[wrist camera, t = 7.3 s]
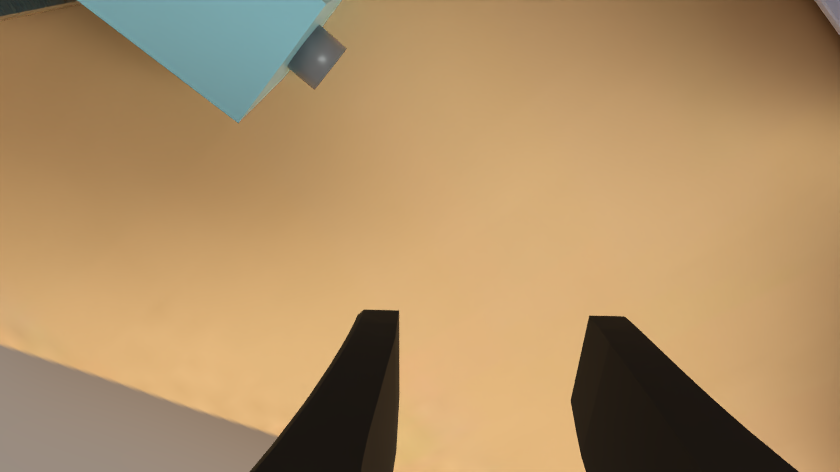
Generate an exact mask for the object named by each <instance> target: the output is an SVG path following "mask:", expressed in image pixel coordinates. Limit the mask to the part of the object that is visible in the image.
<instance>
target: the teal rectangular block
mask: <svg viewBox="0 0 840 472" xmlns="http://www.w3.org/2000/svg"><path fill="white" fill-rule="evenodd" d="M77 1H79V2H80V3H81V4H82V5H84V6H85V7H86V8H88V9H89V10H90V11H92V12H93V13H94V14H96V15H97V16H98V17H100V18H101V19H102V20H103V21H105V22H106V23H107V24H109V25H110V26H111V27H113V28H114V29H115V30H117V31H118V32H119V33H121V34H122V35H123V36H124V37H126V38H127V39H128V40H130V41H131V42H132V43H134V44H135V45H136V46H138V47H139V48H140V49H142V50H143V51H144V52H145V53H147V54H148V55H149V56H151V57H152V58H153V59H155V60H156V61H157V62H159V63H160V64H161V65H163V66H164V67H165V68H166V69H168V70H169V71H170V72H172V73H173V74H174V75H176V76H177V77H178V78H180V79H181V80H182V81H184V82H185V83H186V84H187V85H189V86H190V87H191V88H193V89H194V90H195V91H197V92H198V93H199V94H201V95H202V96H203V97H205V98H206V99H207V100H208V101H210V102H211V103H212V104H214V105H215V106H216V107H218V108H219V109H220V110H222V111H223V112H224V113H226V114H227V115H228V116H229V117H231V118H232V119H233V120H235V121H236V122H237V123H239V122H240V121H241V120H242V119H243V118H244V117H245V116H246V115H247V114H248V113H249V112H250V111H251V110H252V109H253V108H254V107H255V106H256V105H257V104H258V103H259V102H260V101H261V100H262V99H263V98H264V97H265V96H266V95H267V94H268V93H269V92H270V91H271V90H272V89H273V88H274V87H275V86H276V85H277V84H278V83H279V82H280V81H281V80H282V79H283V78H284V77H285V76H286V74H287V73H288V72H289V70H291V71H293V72H294V73H295V74H296V75H297V76H299V77H300V78H301V79H302V80H303V81H305V82H306V83H307V84H308V85H309V86H311V87H312V88H313V89H314V90H315V88H316V87H317V86H318V85H319V83H320V82H321V81H322V80H323V78H324V77H325V76H326V75H327V73H328V72H329V71H330V69H331V68H332V67H333V66H334V64H335V63H336V62H337V60H338V59H339V58H340V57H341V55H342V54H343V53H344V51H345V50H346V48H345V47H344V46H343V45H342V44H341V43H340V42H339V41H337V40H336V39H335V38H334V37H333V36H332V35H331V34H329V33H328V32H327V31H326V30H325V29H324V28H323V27H322V26H323V25H324V24H325V22H326V21H327V20H328V18H329V17H330V16H331V14H332V13H333V12H334V10H335V9H336V8H337V6H338V5H339V4H340V2H341V1H342V0H77Z"/></svg>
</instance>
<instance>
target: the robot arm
mask: <svg viewBox="0 0 840 472" xmlns="http://www.w3.org/2000/svg"><path fill="white" fill-rule="evenodd" d="M814 1H815V2H816V3H817V5H818V6H819V7H820V9H821V10H822V12H823V13H824V14H825V16H826V17H827V19H828V20H829V21H830V23H831V24H832V26H833V27H834V28H835V30H836V31H837V32H838V34H839V35H840V0H814ZM571 405H572V410H573V416H574V422H575V427H576V432H577V437H578V442H579V447H580V452H581V457H582V460H583V463H584V467H585V470H586V472H799V471H797V470H796V469H795V468H793V467H792V466H791V465H790V464H788V463H787V462H786V461H785V460H784V459H782V458H781V457H780V456H779V455H778V454H776V453H775V452H774V451H773V450H772V449H770V448H769V447H768V446H767V445H765V444H764V443H763V442H762V441H761V440H759V439H758V438H757V437H756V436H755V435H753V434H752V433H751V432H750V431H749V430H747V429H746V428H745V427H744V426H743V425H742V424H741V423H739V422H738V421H737V420H736V419H735V418H734V417H732V416H731V415H730V414H729V413H728V412H727V411H726V410H725V409H723V408H722V407H721V406H720V405H719V404H718V403H717V402H716V401H714V400H713V399H712V398H711V397H710V396H709V395H708V394H707V393H706V392H705V391H703V390H702V389H701V388H700V387H699V386H698V385H697V384H696V383H695V382H694V381H693V380H692V379H690V378H689V377H688V376H687V375H686V374H685V373H684V372H683V371H682V370H681V369H680V368H679V367H678V366H677V365H676V364H675V363H674V362H672V361H671V360H670V359H669V358H668V357H667V356H666V355H665V354H664V353H663V352H662V351H661V350H660V349H659V348H658V347H657V346H656V345H655V344H654V343H653V342H652V341H650V340H649V339H648V338H647V337H646V336H645V335H644V334H643V333H642V332H641V331H640V330H639V329H638V328H637V327H636V326H635V325H634V324H632V323H631V322H630V321H629V320H628V319H627V318H626V317H621V316H589V320H588V324H587V329H586V333H585V338H584V343H583V347H582V352H581V356H580V361H579V365H578V370H577V374H576V379H575V384H574V388H573V393H572V397H571ZM398 410H399V311H393V310H363V311H362V312H361V313H360V314H358V316H357V318H356V320H355V322H354V324H353V326H352V328H351V330H350V332H349V334H348V336H347V338H346V339H345V341H344V343H343V345H342V346H341V348H340V350H339V351H338V353H337V355H336V356H335V358H334V359H333V361H332V363H331V364H330V366H329V367H328V369H327V370H326V372H325V373H324V375H323V376H322V378H321V379H320V381H319V382H318V384H317V385H316V387H315V388H314V390H313V391H312V393H311V394H310V396H309V397H308V398H307V400H306V401H305V403H304V404H303V405H302V407H301V408H300V409H299V411H298V412H297V413H296V415H295V416H294V417H293V418H292V420H291V421H290V422H289V424H288V425H287V426H286V428H285V429H284V430H283V432H282V433H281V434H280V435H279V437H278V438H277V439H276V441H275V442H274V443H273V444H272V446H271V447H270V448H269V449H268V451H267V452H266V453H265V454H264V455H263V457H262V458H261V459H260V460H259V461H258V463H257V464H256V465H255V466H254V467H253V468H252V470H251V471H250V472H393V468H394V462H395V455H396V446H397V428H398Z"/></svg>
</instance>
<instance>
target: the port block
mask: <svg viewBox="0 0 840 472" xmlns="http://www.w3.org/2000/svg"><path fill="white" fill-rule="evenodd" d="M79 4H81V3H80V2H79V1H77V0H0V21H3V20H8V19H13V18H17V17H22V16H27V15H32V14H36V13H41V12H46V11H51V10H55V9H60V8H65V7H70V6H74V5H79Z"/></svg>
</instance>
